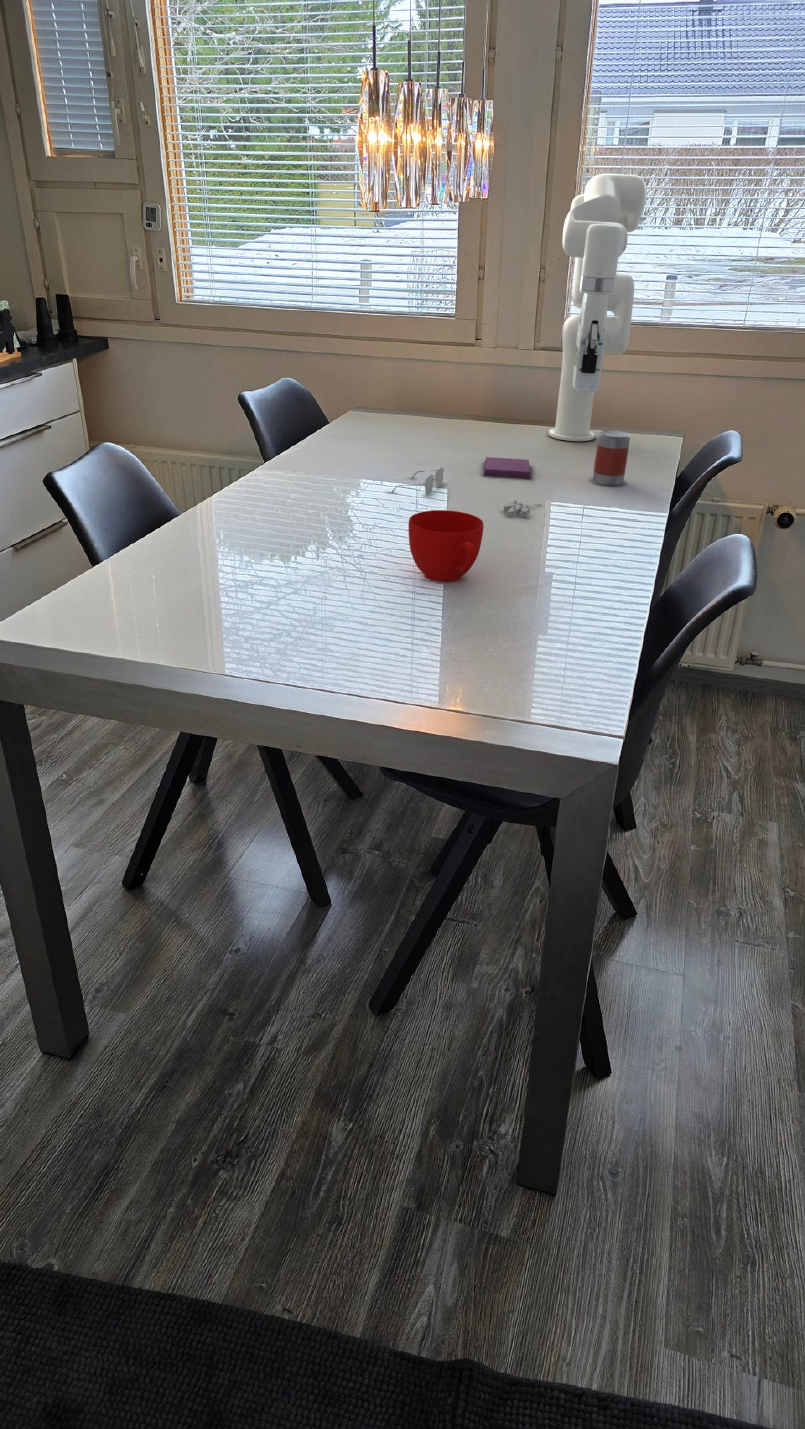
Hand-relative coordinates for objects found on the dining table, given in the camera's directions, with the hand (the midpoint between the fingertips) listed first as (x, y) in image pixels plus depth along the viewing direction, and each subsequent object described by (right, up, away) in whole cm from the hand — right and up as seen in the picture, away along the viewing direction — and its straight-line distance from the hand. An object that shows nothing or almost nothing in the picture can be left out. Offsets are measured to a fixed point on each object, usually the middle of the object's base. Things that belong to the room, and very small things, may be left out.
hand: (587, 369), depth 231 cm
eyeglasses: (-39, -28, -4) cm, 48 cm away
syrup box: (0, -4, +2) cm, 5 cm away
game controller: (-16, -36, -17) cm, 43 cm away
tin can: (+6, -24, +7) cm, 26 cm away
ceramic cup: (-35, -56, -55) cm, 86 cm away
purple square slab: (-17, -20, +12) cm, 29 cm away
